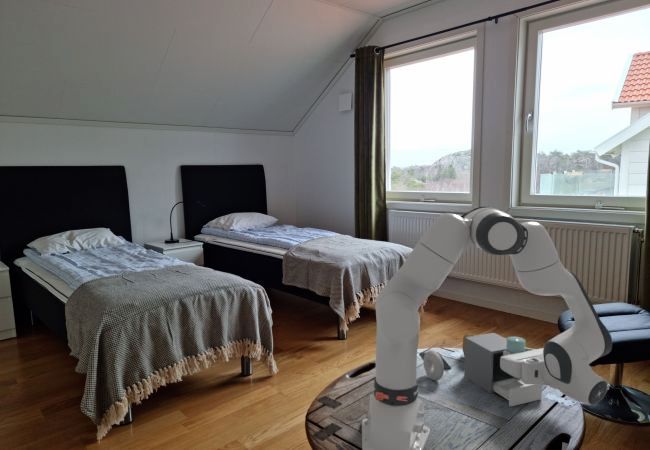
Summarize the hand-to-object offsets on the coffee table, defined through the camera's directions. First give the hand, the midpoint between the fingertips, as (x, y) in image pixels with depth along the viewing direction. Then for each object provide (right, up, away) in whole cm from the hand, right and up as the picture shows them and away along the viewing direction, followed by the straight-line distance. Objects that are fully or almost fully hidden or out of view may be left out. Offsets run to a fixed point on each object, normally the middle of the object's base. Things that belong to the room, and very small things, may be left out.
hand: (513, 350), depth 143 cm
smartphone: (-18, -12, +27) cm, 35 cm away
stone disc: (-5, -11, +27) cm, 30 cm away
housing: (-3, -13, +10) cm, 17 cm away
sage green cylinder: (0, -6, 0) cm, 6 cm away
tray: (0, -14, +1) cm, 14 cm away
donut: (-22, -13, +13) cm, 29 cm away
